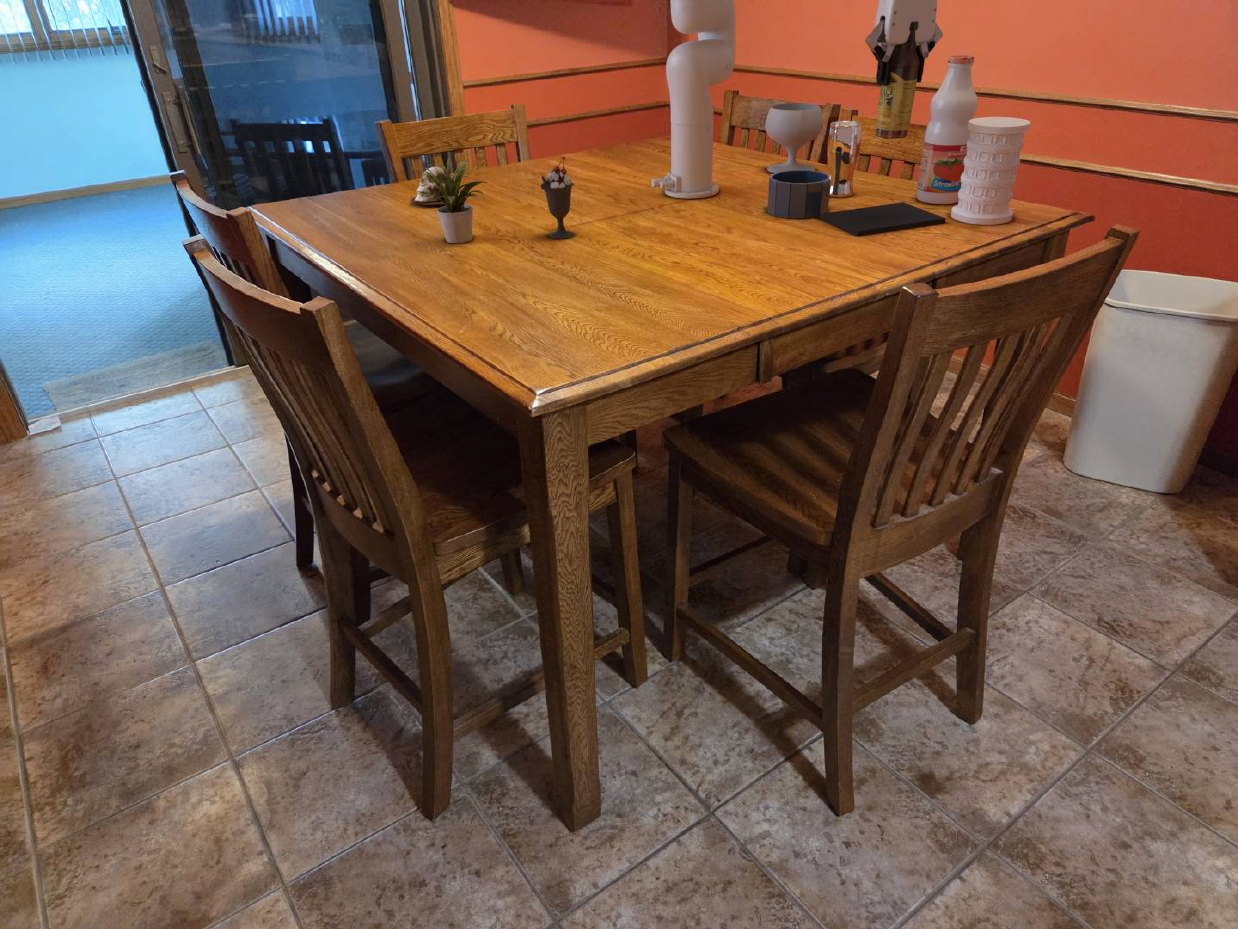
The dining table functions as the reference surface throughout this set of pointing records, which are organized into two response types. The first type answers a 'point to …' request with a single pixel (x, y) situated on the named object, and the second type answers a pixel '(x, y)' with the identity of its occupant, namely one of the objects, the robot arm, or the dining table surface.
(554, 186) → the sundae
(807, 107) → the chalice
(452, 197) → the house plant
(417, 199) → the skull
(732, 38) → the robot arm
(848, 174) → the beer glass
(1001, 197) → the decorative container
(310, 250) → the dining table surface
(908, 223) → the placemat
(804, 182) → the holder
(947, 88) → the fruit juice
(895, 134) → the sauce bottle
